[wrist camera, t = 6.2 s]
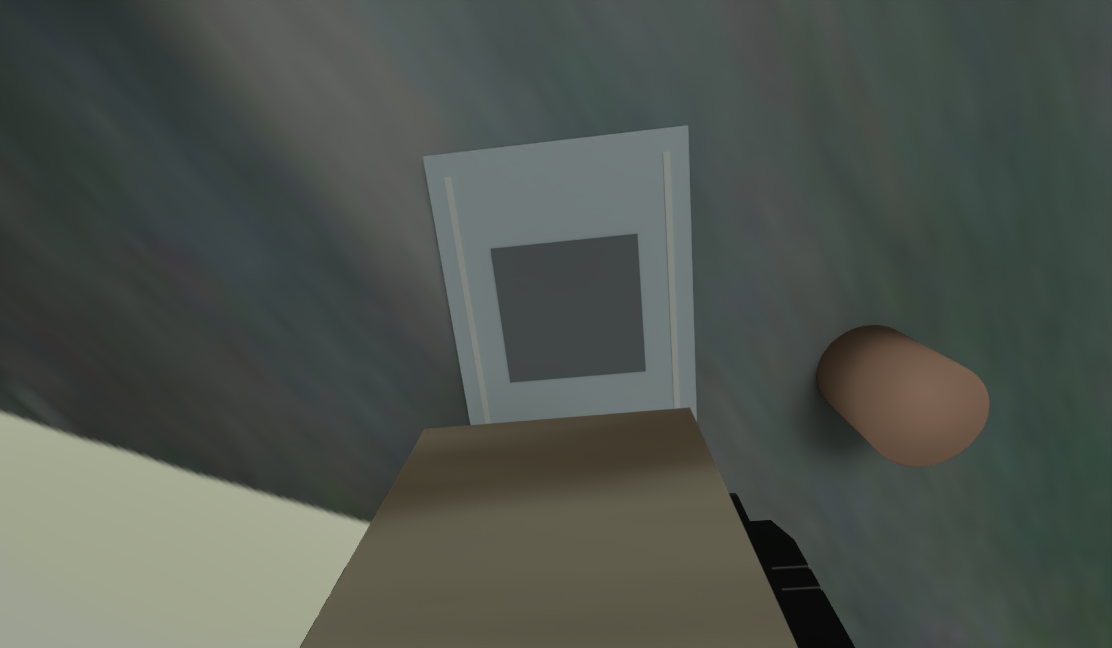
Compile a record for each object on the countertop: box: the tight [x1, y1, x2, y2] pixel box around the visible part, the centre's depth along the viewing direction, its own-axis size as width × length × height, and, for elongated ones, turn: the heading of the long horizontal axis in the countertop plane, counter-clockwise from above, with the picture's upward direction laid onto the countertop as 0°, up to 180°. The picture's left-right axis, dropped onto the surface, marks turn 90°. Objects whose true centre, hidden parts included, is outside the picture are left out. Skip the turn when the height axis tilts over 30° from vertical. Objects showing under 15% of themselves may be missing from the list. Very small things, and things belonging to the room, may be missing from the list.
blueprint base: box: [423, 125, 697, 425], centre depth 26 cm, size 16×12×1 cm
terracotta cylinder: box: [817, 325, 989, 466], centre depth 24 cm, size 5×5×5 cm
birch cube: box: [300, 407, 798, 648], centre depth 8 cm, size 5×5×5 cm
